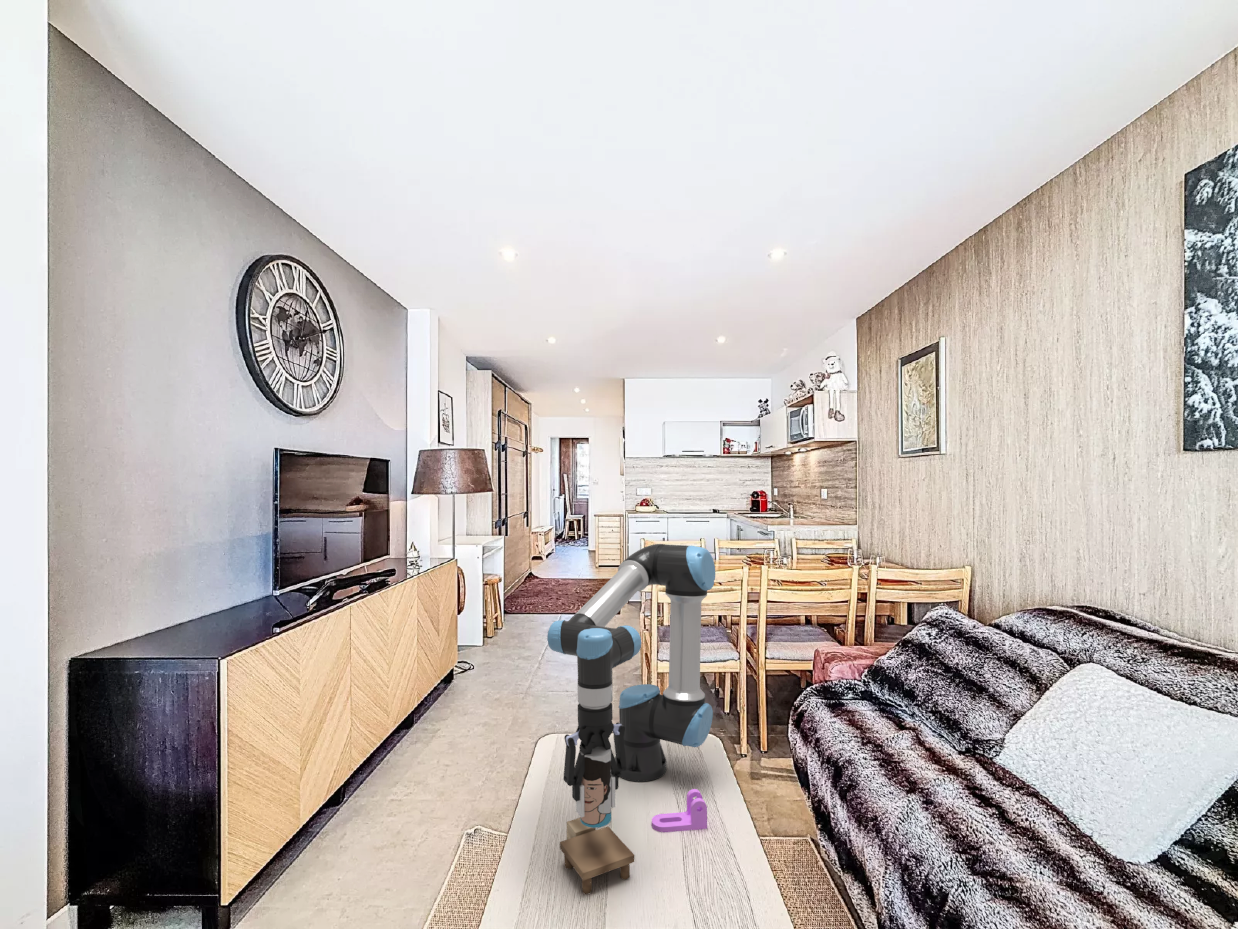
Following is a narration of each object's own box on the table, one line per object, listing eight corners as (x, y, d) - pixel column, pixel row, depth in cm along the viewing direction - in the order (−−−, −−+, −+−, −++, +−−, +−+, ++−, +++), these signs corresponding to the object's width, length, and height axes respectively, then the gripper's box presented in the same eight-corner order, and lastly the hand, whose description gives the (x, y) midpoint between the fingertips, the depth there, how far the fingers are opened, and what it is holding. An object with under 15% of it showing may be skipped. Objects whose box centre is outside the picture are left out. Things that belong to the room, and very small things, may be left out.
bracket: (701, 816, 156) (701, 788, 156) (707, 829, 150) (706, 800, 150) (649, 820, 154) (649, 792, 154) (654, 833, 149) (653, 804, 149)
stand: (608, 847, 143) (608, 826, 143) (634, 878, 133) (634, 854, 133) (560, 864, 138) (559, 841, 138) (583, 897, 127) (583, 873, 127)
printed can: (577, 812, 138) (577, 744, 138) (607, 808, 139) (607, 740, 139) (583, 829, 131) (582, 758, 131) (614, 825, 133) (613, 754, 132)
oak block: (586, 836, 148) (586, 815, 148) (595, 848, 143) (595, 826, 143) (566, 843, 145) (566, 821, 145) (575, 855, 141) (575, 832, 141)
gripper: (626, 689, 143) (626, 789, 143) (545, 705, 134) (546, 813, 134) (643, 700, 136) (643, 805, 136) (559, 718, 127) (560, 831, 127)
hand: (595, 809), depth 135 cm, fingers closed on printed can, 7 cm apart
